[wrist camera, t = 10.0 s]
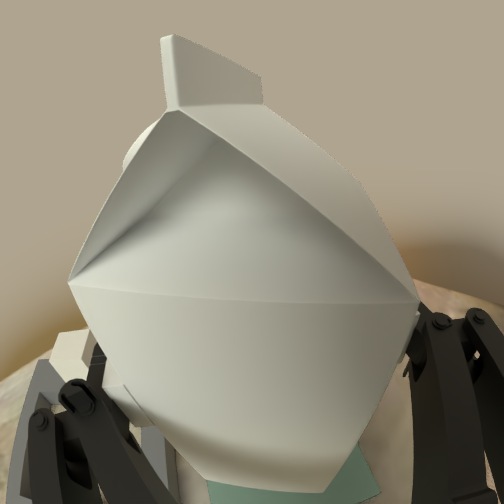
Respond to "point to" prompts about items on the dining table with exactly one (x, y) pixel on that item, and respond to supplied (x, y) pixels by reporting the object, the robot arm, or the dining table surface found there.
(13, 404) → the dining table surface
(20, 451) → the grey open frame
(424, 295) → the dining table surface
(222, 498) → the felt pad
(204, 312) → the milk carton
